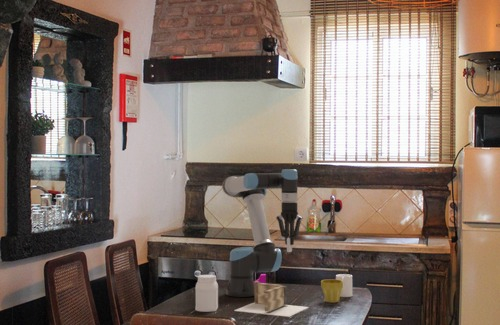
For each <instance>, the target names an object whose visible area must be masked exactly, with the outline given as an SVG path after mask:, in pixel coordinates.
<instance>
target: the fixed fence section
mask: <svg viewBox="0 0 500 325" xmlns="http://www.w3.org/2000/svg"><path fill="white" fill-rule="evenodd" d="M254 281H255V296H254V302H255V303H259V304H265V293H264V291H266V290H269V289H273V288H276V287H279V286H283V284H276V283H275V284H274V283H267V282H266V283H259V281H256V280H254Z"/></svg>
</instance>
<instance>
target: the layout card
mask: <svg viewBox="0 0 500 325" xmlns="http://www.w3.org/2000/svg"><path fill="white" fill-rule="evenodd" d="M309 308H310V307H309V306H303V305H290V304H286V305H283V306H281V307H278V308H275V309H273V310H270V311H265V304H259V303H255V301H254V302H252V303H249V304H247V305H244V306H242V307H239V308H237V309H234V312H238V313H239V312H241V313H249V314H257V315H266V316H267V315H268V316H277V317H285V318H290V317H292V316H295V315H296V314H298V313H301V312H302V311H305V310H308V309H309Z"/></svg>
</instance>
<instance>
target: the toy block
mask: <svg viewBox="0 0 500 325" xmlns="http://www.w3.org/2000/svg"><path fill="white" fill-rule="evenodd" d="M253 281H254V284H255V281H259V283H266V284H267V274H266V273H261V274H260V276H259V278H258V279H256V280H253Z"/></svg>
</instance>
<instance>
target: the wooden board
mask: <svg viewBox="0 0 500 325" xmlns="http://www.w3.org/2000/svg"><path fill="white" fill-rule="evenodd" d="M264 293H265V311H270V310H273V309H275V308H278V307H281V306H283V305H287V285H282V286H279V287H276V288H273V289H269V290H266V291H264Z"/></svg>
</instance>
